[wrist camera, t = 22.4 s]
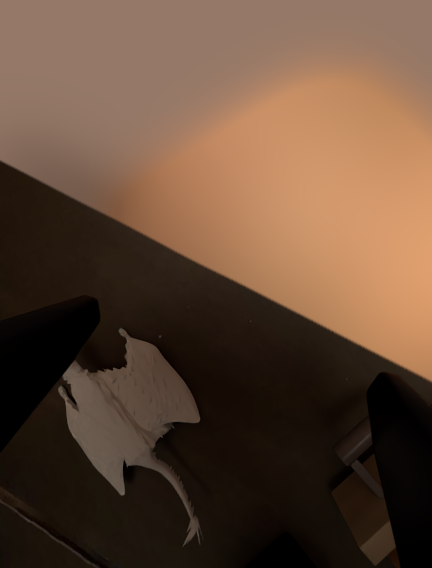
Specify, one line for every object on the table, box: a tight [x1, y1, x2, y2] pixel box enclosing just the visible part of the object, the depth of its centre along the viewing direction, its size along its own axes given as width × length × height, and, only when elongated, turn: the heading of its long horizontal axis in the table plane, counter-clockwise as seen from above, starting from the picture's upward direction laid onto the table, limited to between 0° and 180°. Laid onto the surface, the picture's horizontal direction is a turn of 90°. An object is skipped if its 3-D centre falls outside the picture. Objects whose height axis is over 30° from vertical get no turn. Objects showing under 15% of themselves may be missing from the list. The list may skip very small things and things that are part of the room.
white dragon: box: [58, 328, 203, 546], centre depth 19 cm, size 18×10×4 cm, turn 44°
